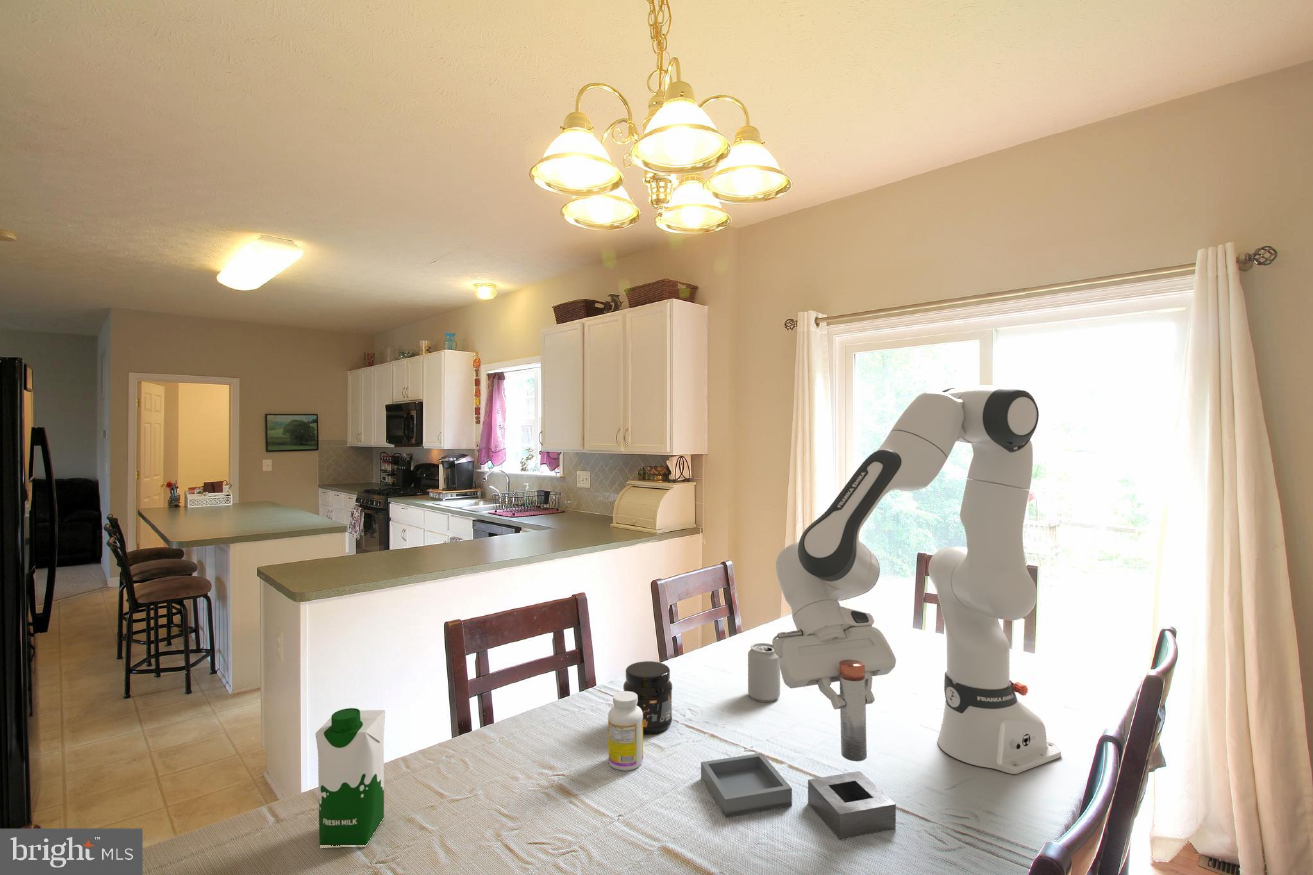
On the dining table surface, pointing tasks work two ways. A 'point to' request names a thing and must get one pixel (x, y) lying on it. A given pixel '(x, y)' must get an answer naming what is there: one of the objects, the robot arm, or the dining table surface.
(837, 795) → the socket
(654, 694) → the supplement container
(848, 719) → the pin
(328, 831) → the milk carton
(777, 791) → the tray
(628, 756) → the supplement bottle
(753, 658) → the can
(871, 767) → the dining table surface
